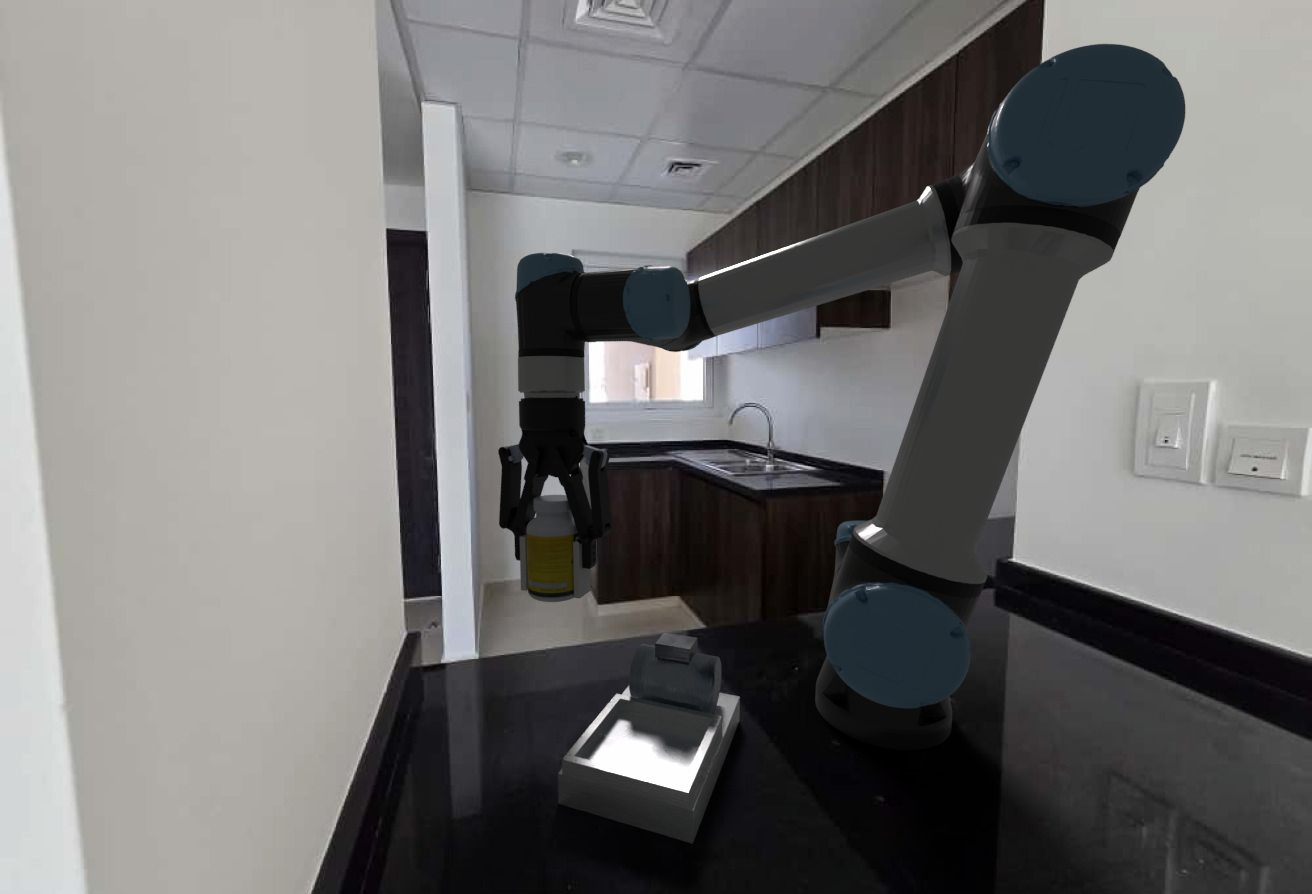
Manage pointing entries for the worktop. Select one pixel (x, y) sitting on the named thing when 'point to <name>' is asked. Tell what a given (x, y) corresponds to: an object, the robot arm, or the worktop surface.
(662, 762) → the motor base
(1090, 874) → the worktop surface
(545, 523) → the pill bottle
